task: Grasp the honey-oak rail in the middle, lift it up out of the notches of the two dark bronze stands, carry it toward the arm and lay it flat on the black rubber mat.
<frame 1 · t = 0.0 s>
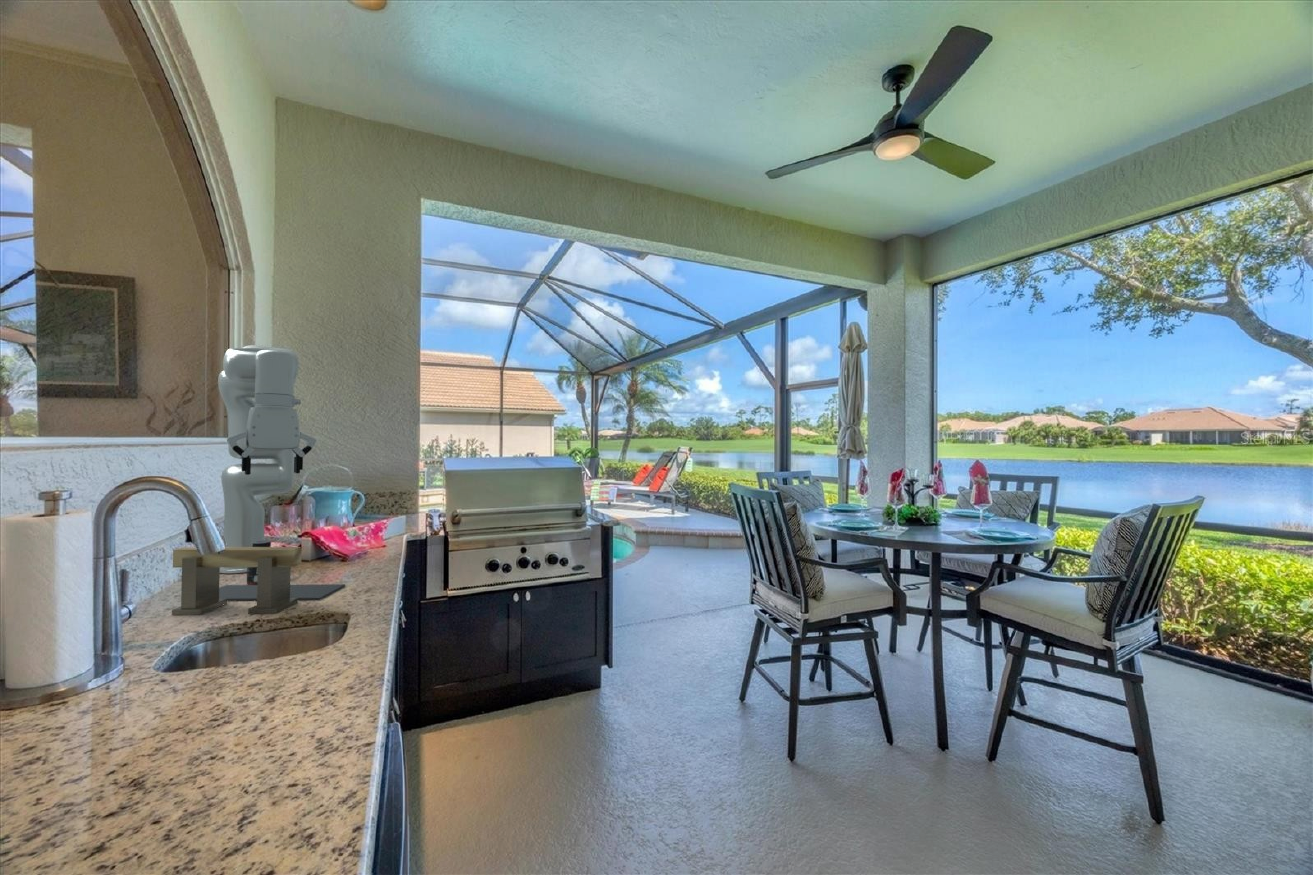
hand: (272, 473, 124), 31 cm above the worktop, tool pointing down, fingers open, 9 cm apart
mat: (271, 593, 132), on the worktop
supplement bottle: (260, 583, 141), on the worktop
rail stands: (237, 608, 120), on the worktop
rail: (238, 565, 120), point 10 cm above the worktop, touching rail stands
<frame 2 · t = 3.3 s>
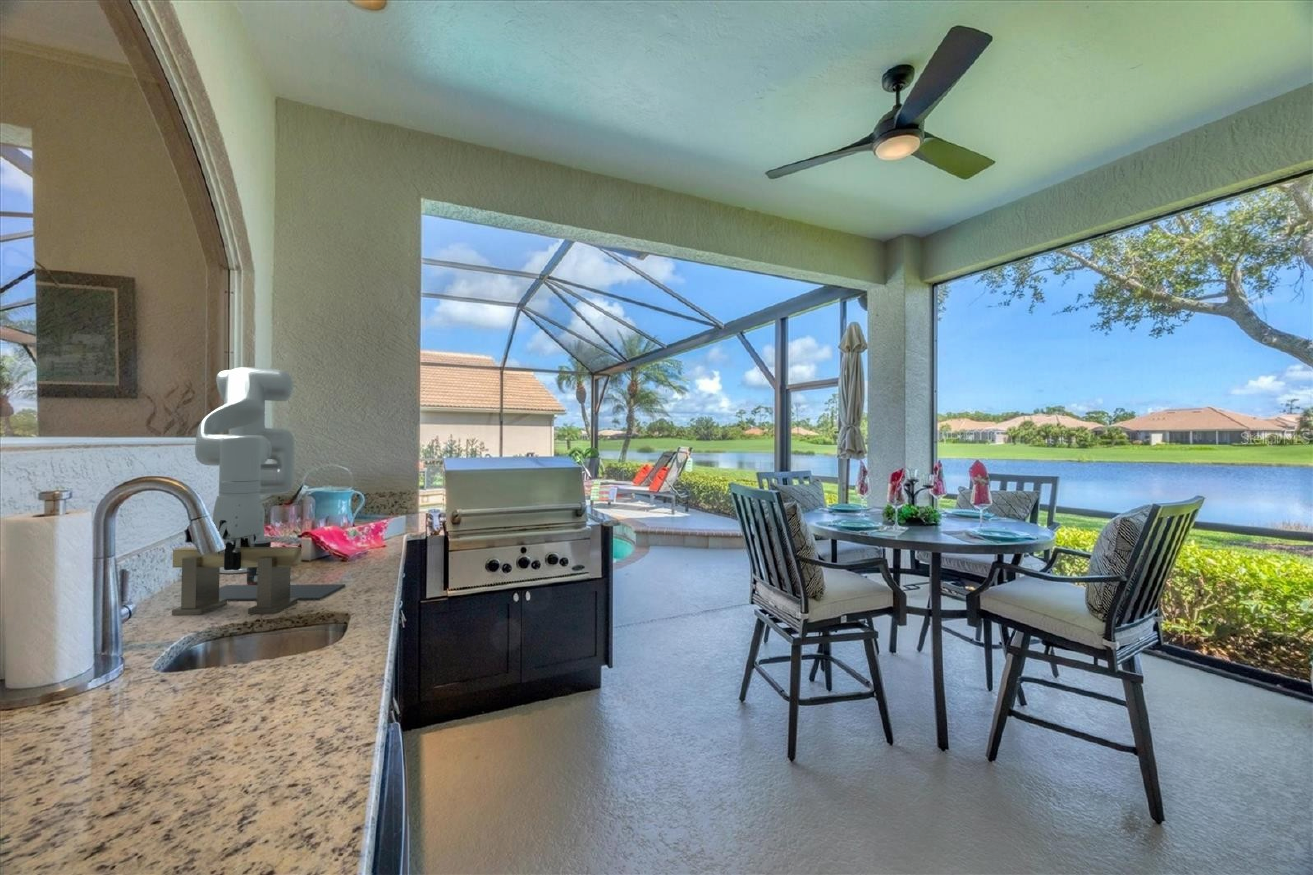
hand: (238, 567, 120), 10 cm above the worktop, tool pointing down, fingers closed on rail, 3 cm apart
rail: (238, 565, 120), point 10 cm above the worktop, touching gripper
everything else where it was.
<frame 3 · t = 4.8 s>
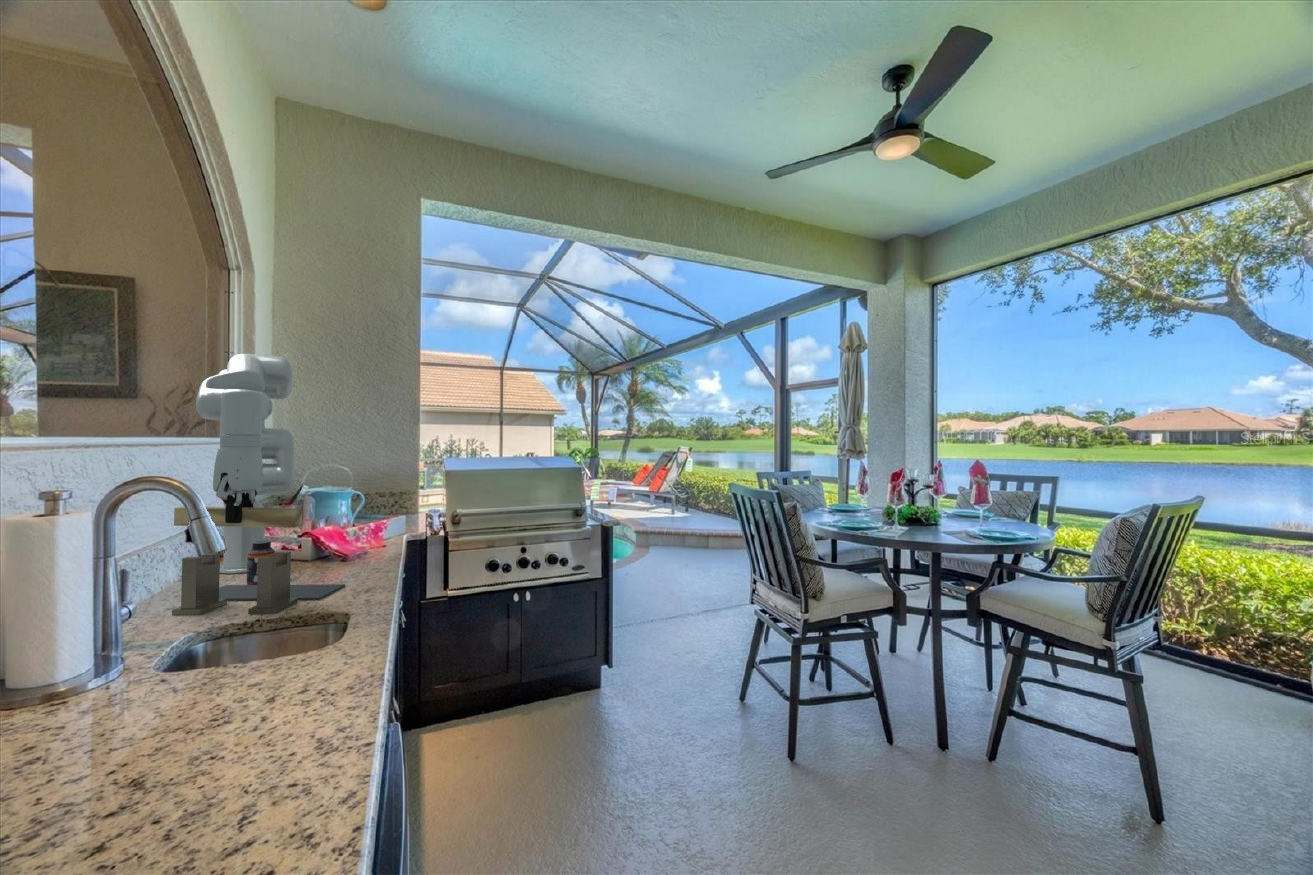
hand: (239, 520, 121), 20 cm above the worktop, tool pointing down, fingers closed on rail, 3 cm apart
rail: (239, 525, 121), point 19 cm above the worktop, touching gripper
everything else where it was.
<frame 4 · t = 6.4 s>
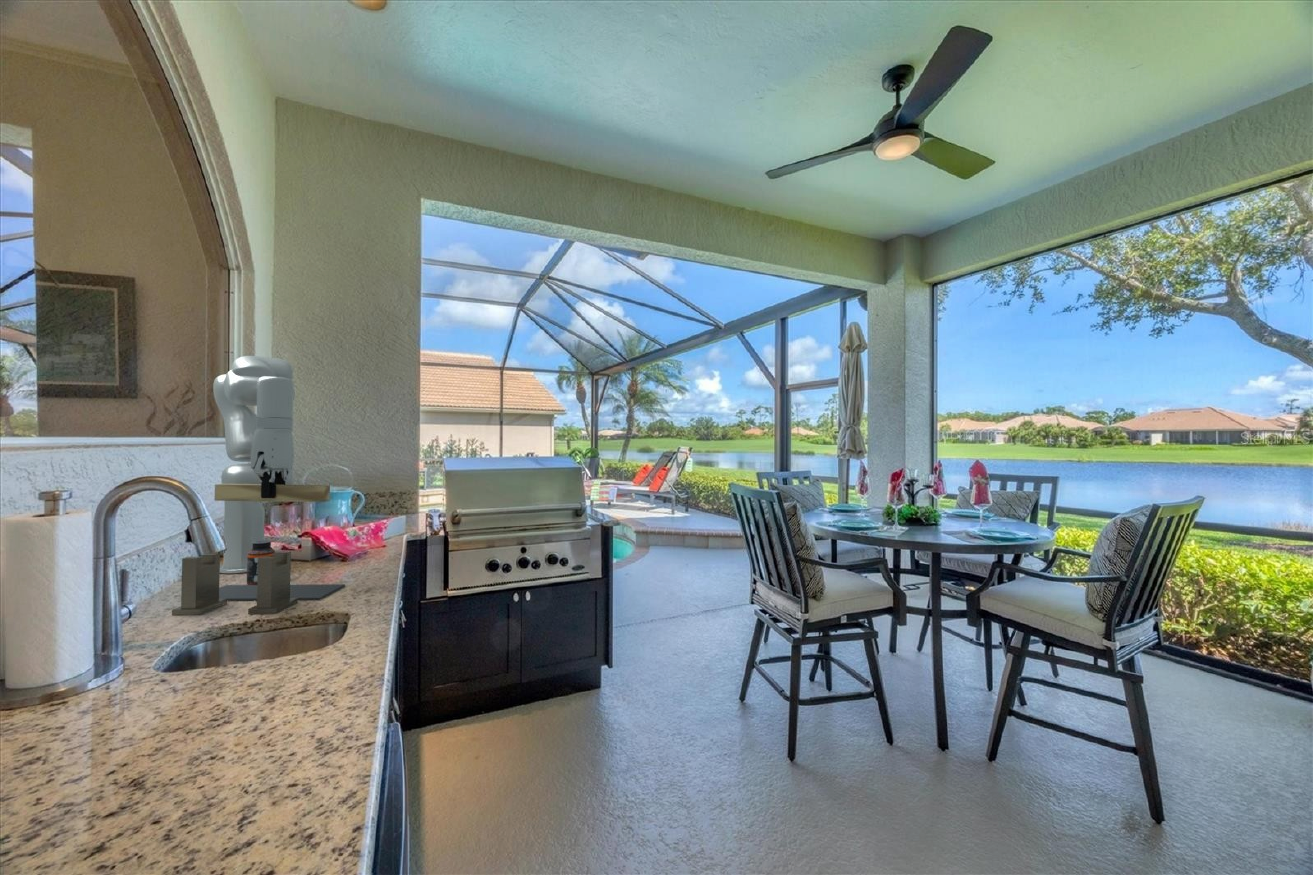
hand: (273, 496, 132), 25 cm above the worktop, tool pointing down, fingers closed on rail, 3 cm apart
rail: (273, 500, 132), point 24 cm above the worktop, touching gripper
everything else where it was.
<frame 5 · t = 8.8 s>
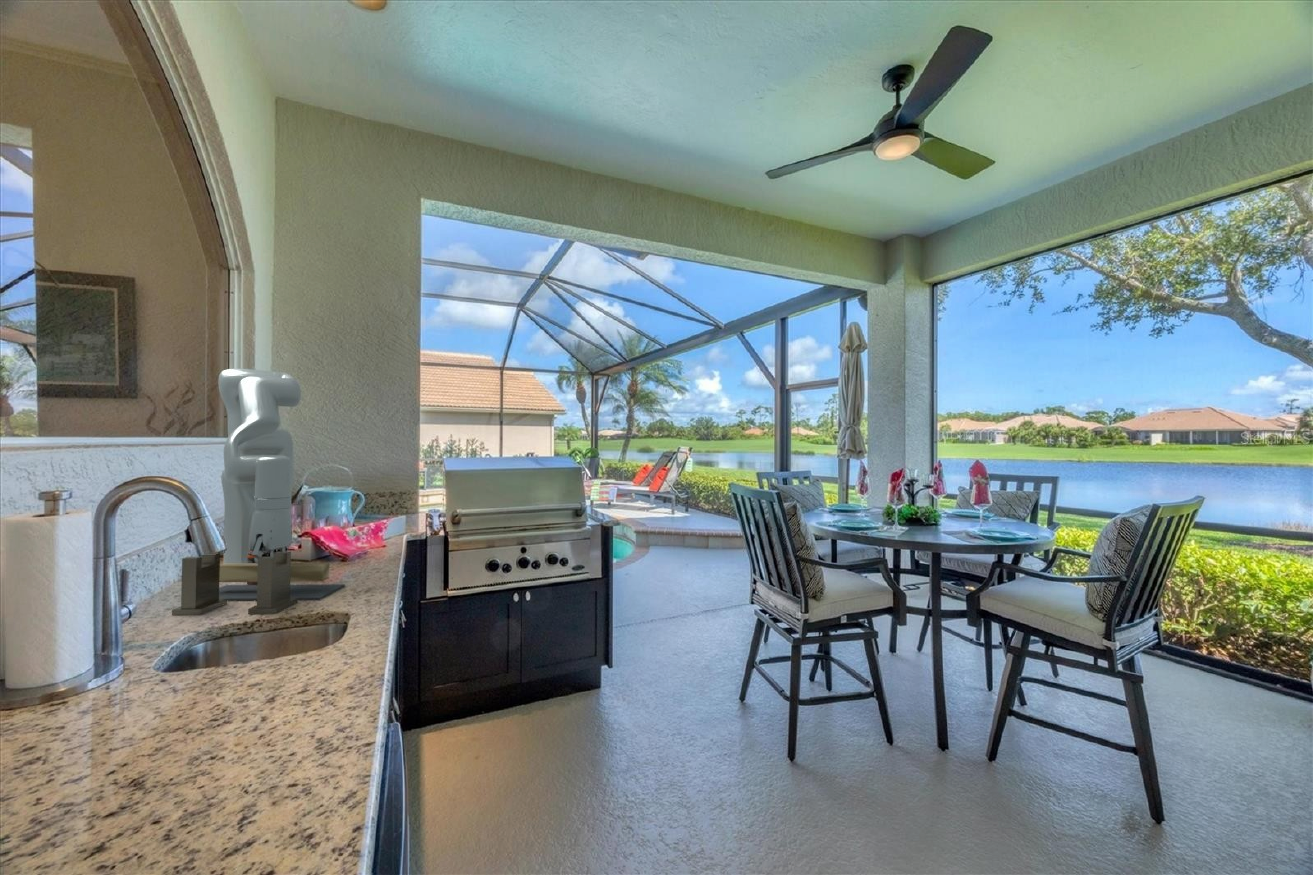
hand: (271, 576, 132), 4 cm above the worktop, tool pointing down, fingers closed on rail, 3 cm apart
rail: (272, 580, 132), point 3 cm above the worktop, touching gripper
everything else where it was.
when the fingers open (2 cm above the worktop, at t = 9.9 s): rail stays where it is, resting on mat.
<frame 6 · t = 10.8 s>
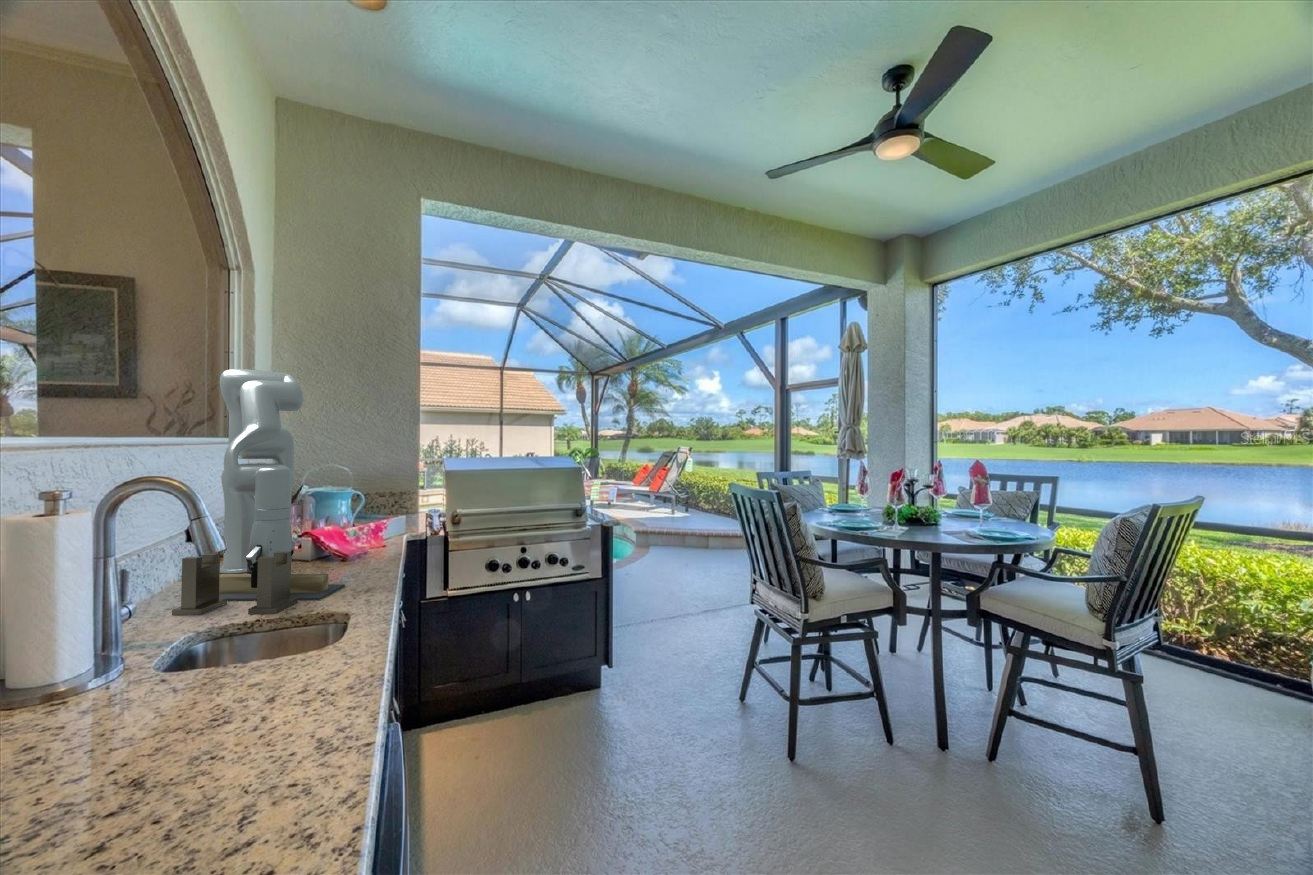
hand: (271, 582, 132), 3 cm above the worktop, tool pointing down, fingers open, 9 cm apart
rail: (271, 591, 132), point 1 cm above the worktop, touching mat
everything else where it was.
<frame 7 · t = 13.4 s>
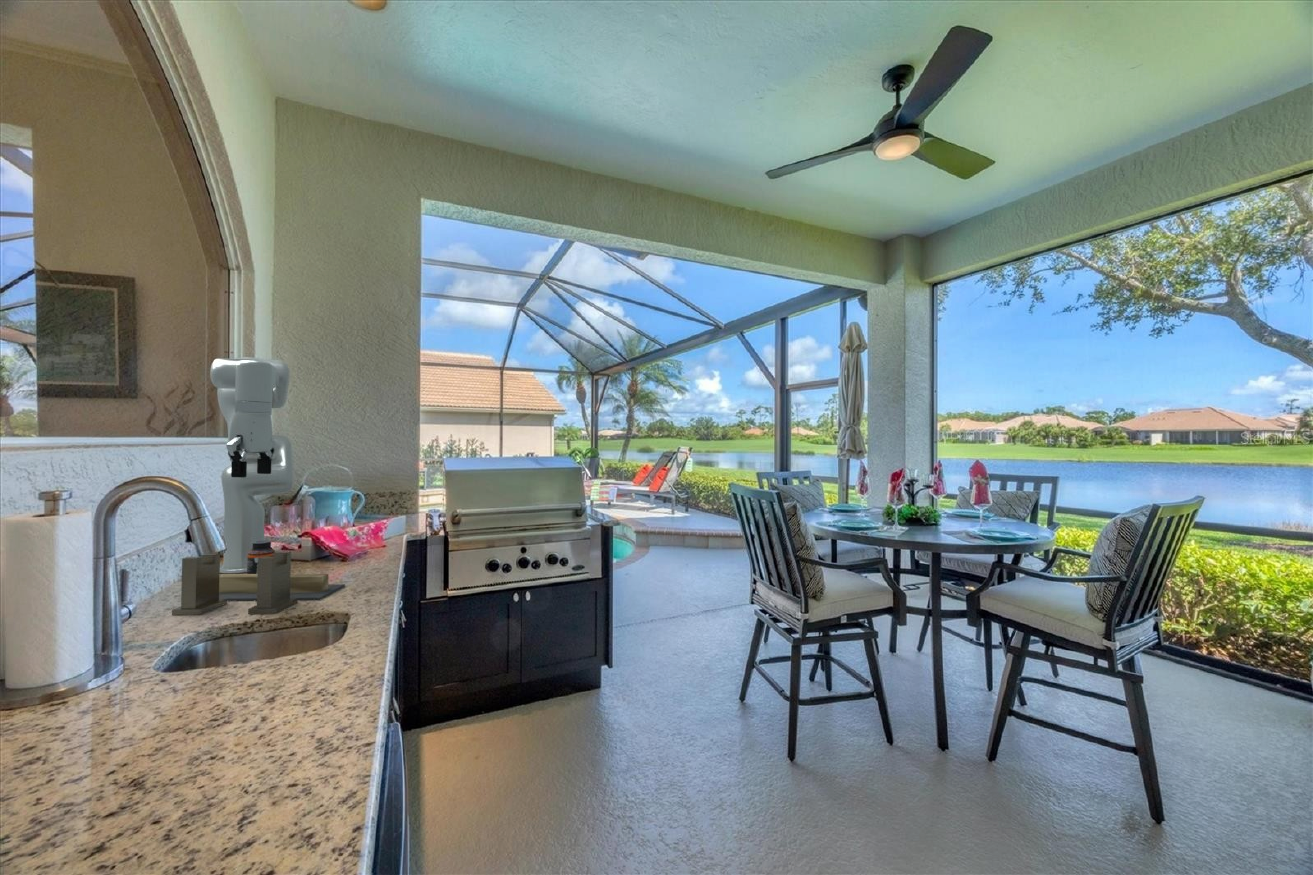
hand: (251, 475, 133), 30 cm above the worktop, tool pointing down, fingers open, 9 cm apart
nothing on the worktop moved.
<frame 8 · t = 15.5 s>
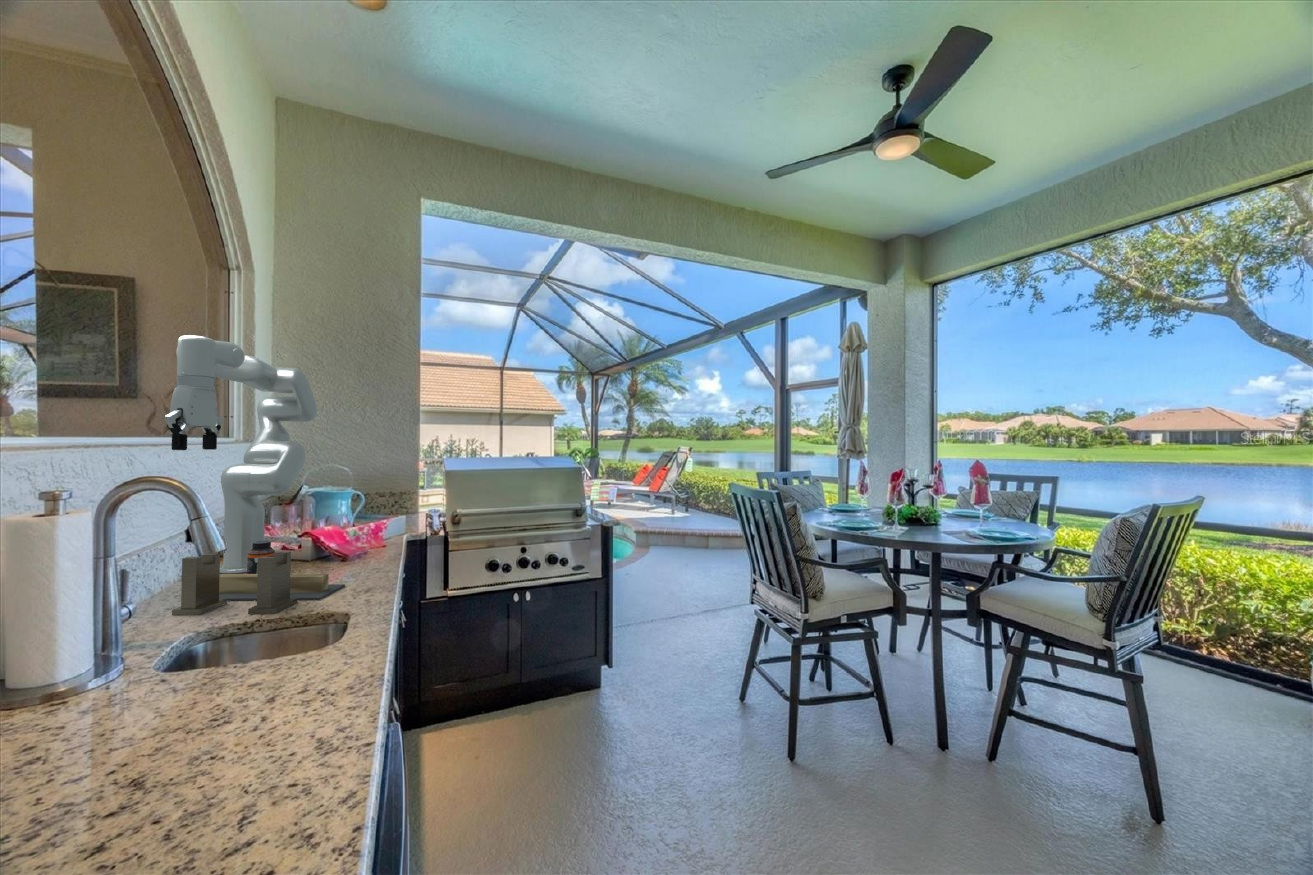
hand: (194, 449, 135), 36 cm above the worktop, tool pointing down, fingers open, 9 cm apart
nothing on the worktop moved.
at the end: rail inside the target area on the mat (0.1 cm from its centre), point 0.6 cm above the mat's base; rail tilted 0°; the gripper is holding nothing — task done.
